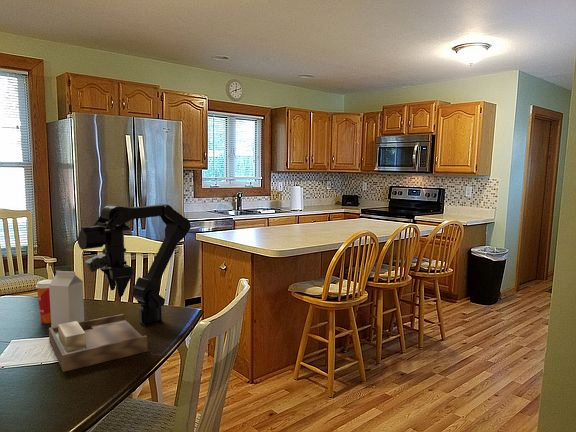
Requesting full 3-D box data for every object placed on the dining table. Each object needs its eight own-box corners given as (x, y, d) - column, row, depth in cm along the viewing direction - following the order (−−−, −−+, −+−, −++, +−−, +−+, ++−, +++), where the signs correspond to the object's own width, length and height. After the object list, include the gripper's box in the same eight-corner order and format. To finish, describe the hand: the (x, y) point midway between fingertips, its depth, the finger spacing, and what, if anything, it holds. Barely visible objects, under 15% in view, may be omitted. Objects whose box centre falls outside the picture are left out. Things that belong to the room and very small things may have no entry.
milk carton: (70, 331, 139) (67, 274, 137) (51, 329, 140) (48, 273, 138) (84, 323, 146) (82, 269, 144) (66, 322, 147) (63, 268, 145)
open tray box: (123, 326, 143) (123, 313, 143) (147, 351, 124) (147, 336, 123) (49, 342, 130) (48, 327, 130) (63, 371, 111) (62, 355, 110)
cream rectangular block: (77, 333, 129) (76, 320, 129) (86, 346, 119) (85, 333, 119) (58, 337, 126) (58, 324, 126) (66, 351, 116) (65, 337, 116)
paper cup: (44, 317, 152) (42, 278, 151) (66, 316, 153) (64, 278, 151) (33, 325, 144) (30, 284, 143) (56, 324, 145) (54, 284, 144)
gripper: (80, 243, 138) (82, 290, 139) (94, 252, 123) (96, 305, 124) (116, 240, 144) (118, 285, 146) (133, 248, 129) (135, 298, 131)
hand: (116, 293), depth 137 cm, fingers open, 9 cm apart
